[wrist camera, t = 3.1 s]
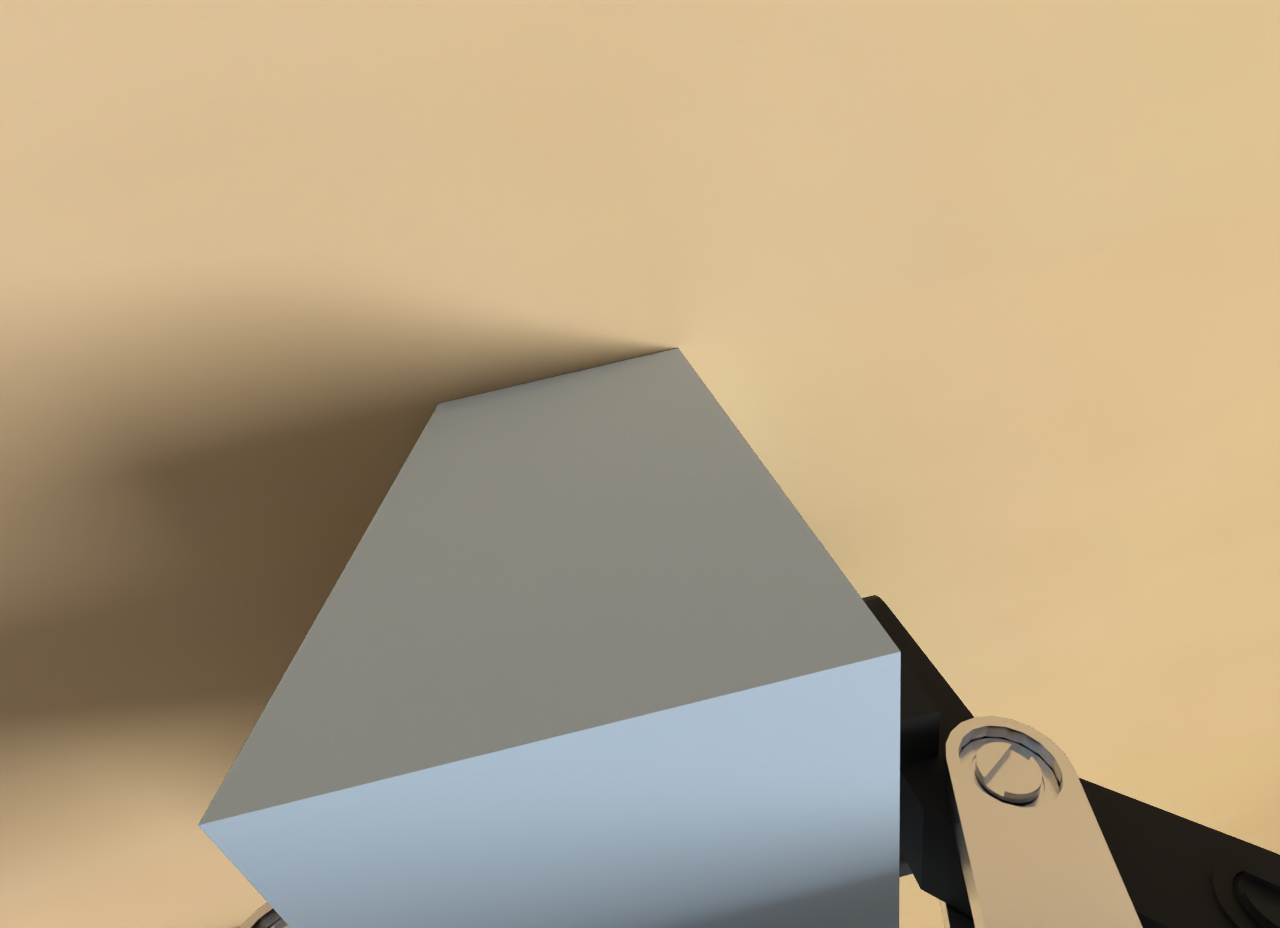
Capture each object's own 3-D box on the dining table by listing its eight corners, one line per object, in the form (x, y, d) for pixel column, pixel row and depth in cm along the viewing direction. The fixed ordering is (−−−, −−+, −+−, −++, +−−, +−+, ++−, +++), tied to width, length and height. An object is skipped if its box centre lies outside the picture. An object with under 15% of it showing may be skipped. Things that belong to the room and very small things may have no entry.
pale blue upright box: (436, 402, 9) (189, 828, 3) (676, 347, 10) (900, 651, 3) (583, 785, 14) (602, 1276, 8) (746, 744, 14) (897, 1198, 8)
